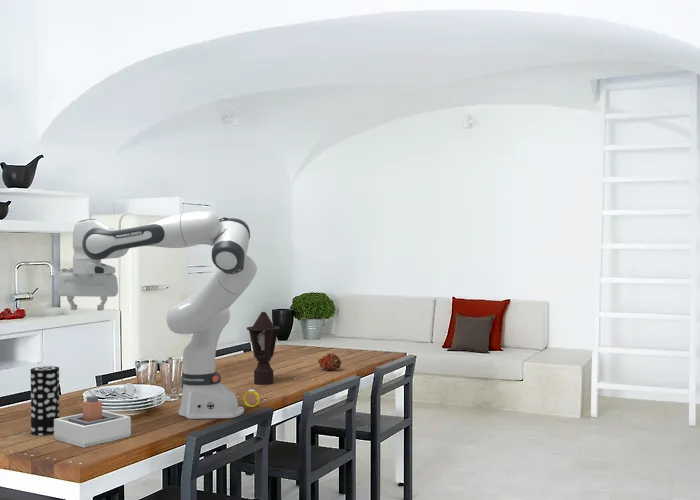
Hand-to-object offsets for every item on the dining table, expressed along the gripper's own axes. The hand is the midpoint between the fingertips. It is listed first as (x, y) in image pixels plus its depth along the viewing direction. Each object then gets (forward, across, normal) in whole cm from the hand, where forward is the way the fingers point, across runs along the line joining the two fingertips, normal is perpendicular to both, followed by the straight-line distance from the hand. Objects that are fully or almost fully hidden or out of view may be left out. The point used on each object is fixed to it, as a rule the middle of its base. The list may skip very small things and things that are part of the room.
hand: (87, 310), depth 250 cm
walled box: (+37, +11, -18) cm, 43 cm away
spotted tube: (+37, -7, -14) cm, 40 cm away
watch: (+37, +47, +31) cm, 68 cm away
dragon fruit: (+37, +62, +110) cm, 132 cm away
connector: (+36, +11, -18) cm, 42 cm away
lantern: (+37, +40, +75) cm, 93 cm away
